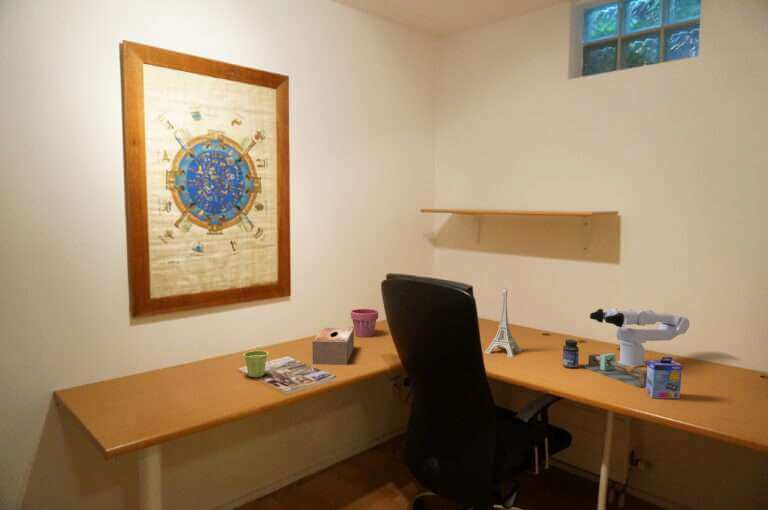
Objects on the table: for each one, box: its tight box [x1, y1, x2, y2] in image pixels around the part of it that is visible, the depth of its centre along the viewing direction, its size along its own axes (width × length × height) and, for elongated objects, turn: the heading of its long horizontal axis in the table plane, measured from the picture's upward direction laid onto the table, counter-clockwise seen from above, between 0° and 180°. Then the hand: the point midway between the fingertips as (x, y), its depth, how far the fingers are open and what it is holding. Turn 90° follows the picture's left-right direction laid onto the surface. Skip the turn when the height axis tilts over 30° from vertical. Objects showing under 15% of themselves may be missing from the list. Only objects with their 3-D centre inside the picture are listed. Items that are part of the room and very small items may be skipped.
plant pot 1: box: [243, 350, 269, 378], centre depth 200 cm, size 9×9×9 cm
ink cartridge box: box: [645, 356, 683, 400], centre depth 179 cm, size 10×6×14 cm, turn 90°
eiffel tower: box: [484, 287, 523, 358], centre depth 234 cm, size 13×13×30 cm
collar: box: [600, 352, 617, 371], centre depth 206 cm, size 2×6×6 cm, turn 115°
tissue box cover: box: [311, 327, 355, 366], centre depth 227 cm, size 26×14×10 cm, turn 177°
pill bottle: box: [562, 339, 580, 370], centre depth 212 cm, size 6×6×11 cm
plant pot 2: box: [350, 308, 379, 338], centre depth 265 cm, size 14×14×13 cm
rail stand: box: [580, 353, 647, 389], centre depth 202 cm, size 28×10×5 cm, turn 25°
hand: (598, 317), depth 206 cm, fingers open, 7 cm apart
